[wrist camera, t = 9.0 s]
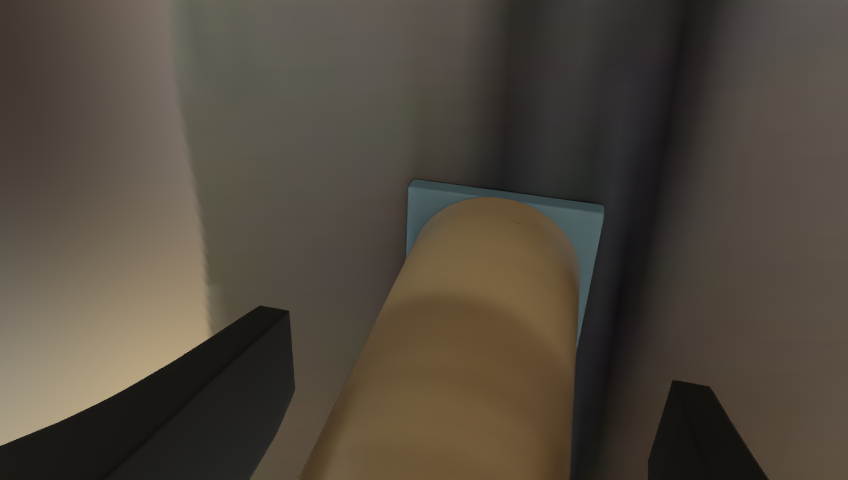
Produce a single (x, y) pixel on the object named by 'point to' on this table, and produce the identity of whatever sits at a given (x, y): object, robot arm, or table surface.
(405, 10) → the table surface
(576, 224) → the mat
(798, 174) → the table surface
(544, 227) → the pepper mill
